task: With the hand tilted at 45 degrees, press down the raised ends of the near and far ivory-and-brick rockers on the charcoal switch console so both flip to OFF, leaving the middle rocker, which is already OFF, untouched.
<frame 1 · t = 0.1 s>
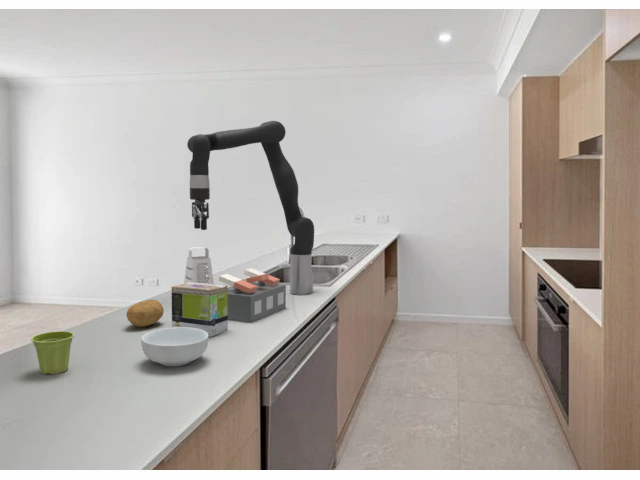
hand: (200, 229, 207), 29 cm above the worktop, tool pointing down, fingers open, 8 cm apart
rocker 1: (261, 276, 201), point 12 cm above the worktop, hinge at -15.0°
cereal bowl: (175, 362, 139), on the worktop
rocker 2: (250, 279, 194), point 12 cm above the worktop, hinge at 15.0°
potato: (144, 326, 174), on the worktop
grater: (199, 294, 227), on the worktop
switch console: (250, 312, 195), on the worktop
rocker 3: (237, 283, 186), point 12 cm above the worktop, hinge at -15.0°
tea box: (200, 331, 169), on the worktop
plant pot: (54, 371, 131), on the worktop
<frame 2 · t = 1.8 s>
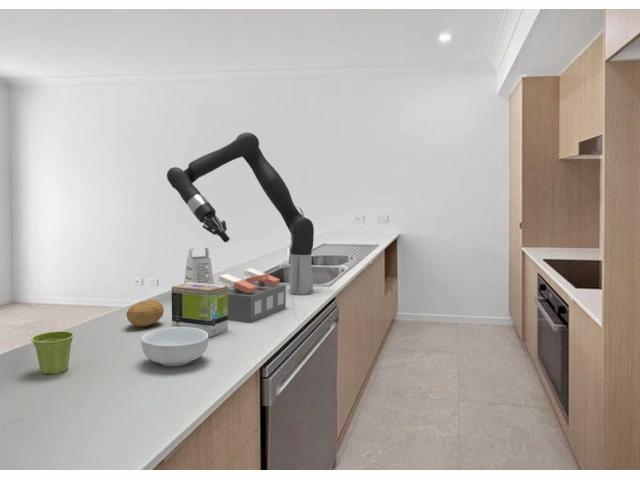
hand: (227, 240, 207), 25 cm above the worktop, tool tilted 45°, fingers closed
nothing on the worktop moved.
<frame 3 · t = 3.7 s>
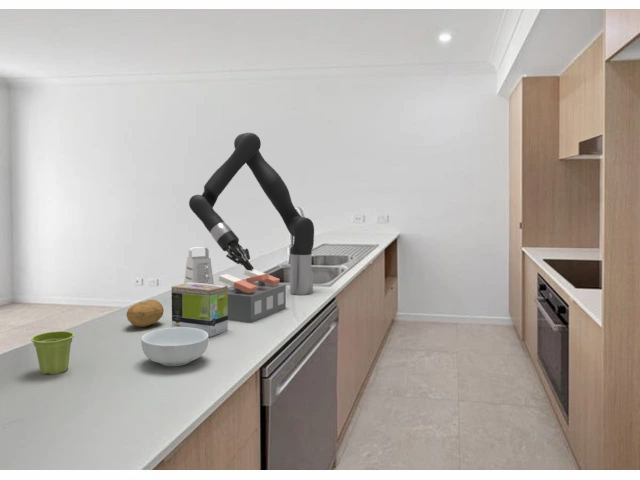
hand: (251, 270, 203), 14 cm above the worktop, tool tilted 45°, fingers closed
rocker 1: (261, 276, 201), point 12 cm above the worktop, hinge at -14.1°, touching gripper
everything else where it was.
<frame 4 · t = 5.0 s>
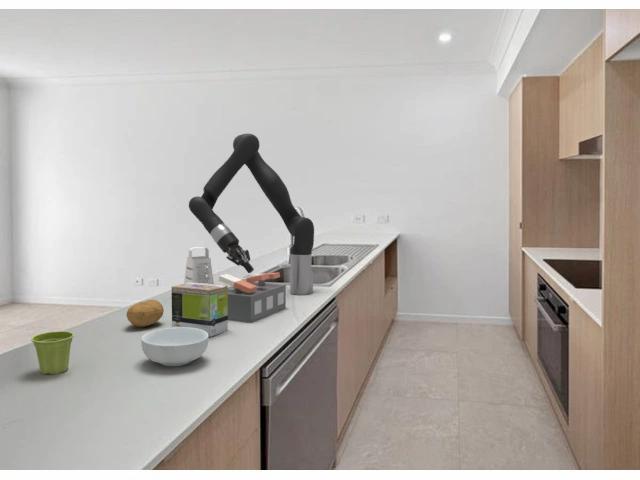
hand: (251, 271, 203), 14 cm above the worktop, tool tilted 45°, fingers closed
rocker 1: (261, 276, 201), point 12 cm above the worktop, hinge at 8.7°
everything else where it was.
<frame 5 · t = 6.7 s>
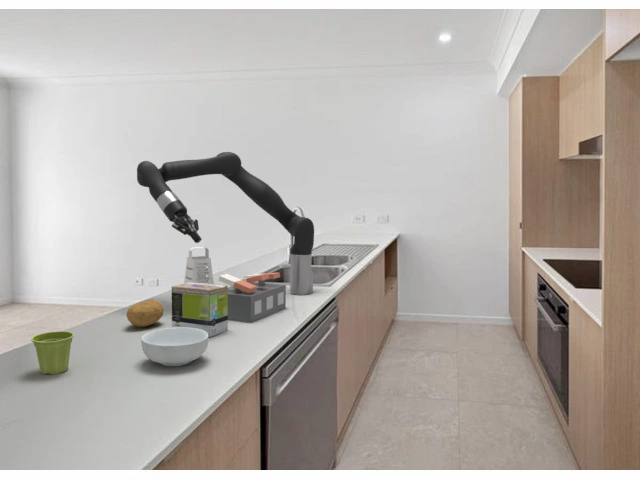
hand: (199, 241, 192), 26 cm above the worktop, tool tilted 45°, fingers closed
nothing on the worktop moved.
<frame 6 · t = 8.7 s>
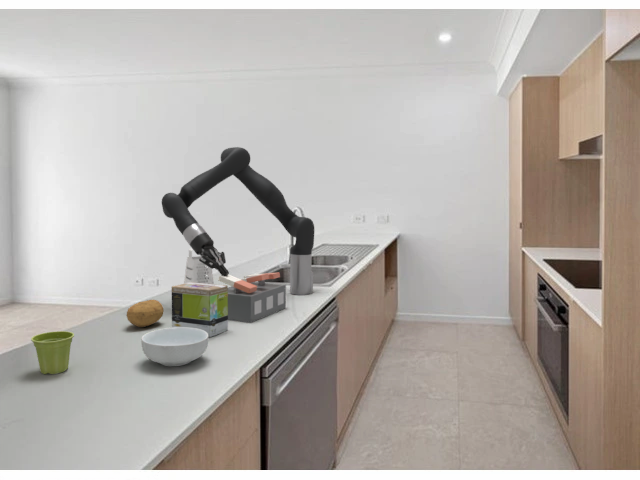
hand: (226, 275, 188), 15 cm above the worktop, tool tilted 45°, fingers closed
rocker 3: (237, 283, 186), point 12 cm above the worktop, hinge at -15.0°, touching gripper
everything else where it was.
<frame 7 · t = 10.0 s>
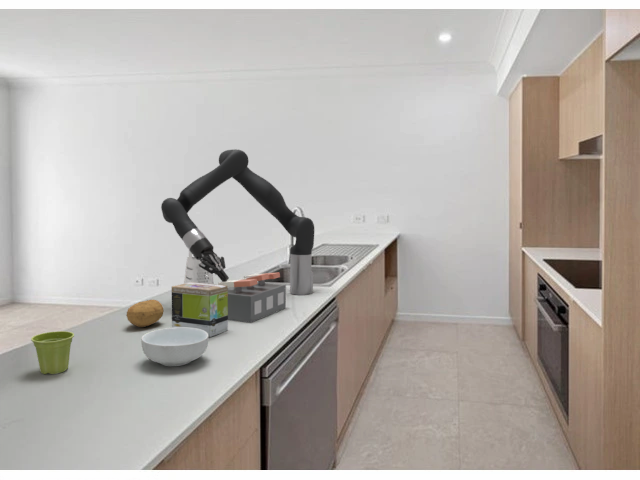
hand: (226, 280, 188), 13 cm above the worktop, tool tilted 45°, fingers closed
rocker 3: (237, 283, 186), point 12 cm above the worktop, hinge at 7.6°, touching gripper
everything else where it was.
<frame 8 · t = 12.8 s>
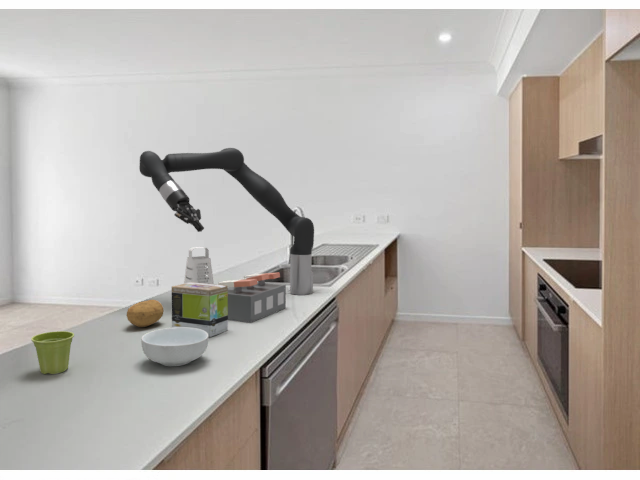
hand: (201, 230, 193), 30 cm above the worktop, tool tilted 45°, fingers closed
rocker 3: (237, 283, 186), point 12 cm above the worktop, hinge at 7.6°
everything else where it was.
at the end: rocker 1 at +9° (first picture: -15°); rocker 3 at +8° (first picture: -15°); rocker 2 at +15° (first picture: +15°) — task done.
